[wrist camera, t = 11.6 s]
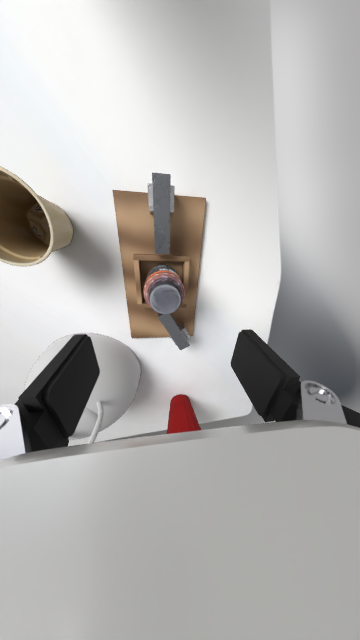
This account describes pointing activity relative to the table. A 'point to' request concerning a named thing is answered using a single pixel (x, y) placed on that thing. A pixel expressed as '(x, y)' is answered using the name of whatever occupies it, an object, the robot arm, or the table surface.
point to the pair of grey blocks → (165, 243)
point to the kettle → (100, 383)
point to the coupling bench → (158, 256)
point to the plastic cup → (181, 416)
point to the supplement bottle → (163, 289)
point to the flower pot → (29, 223)
